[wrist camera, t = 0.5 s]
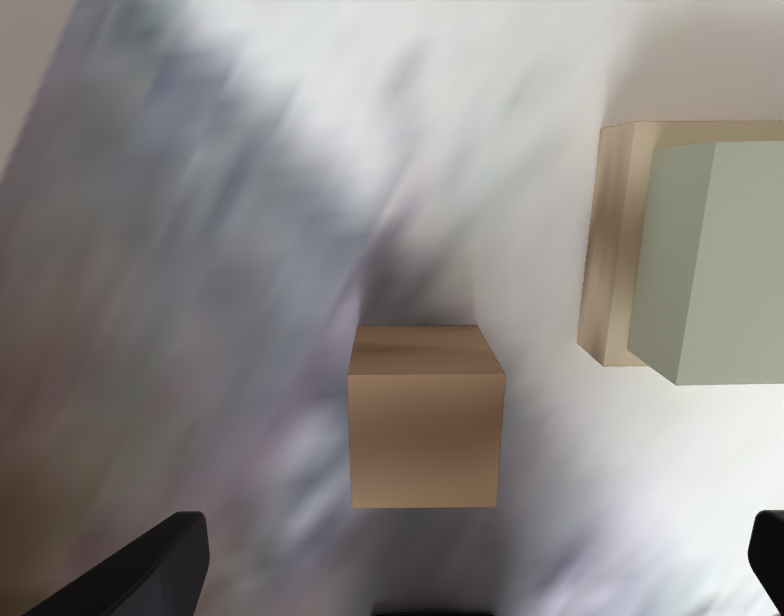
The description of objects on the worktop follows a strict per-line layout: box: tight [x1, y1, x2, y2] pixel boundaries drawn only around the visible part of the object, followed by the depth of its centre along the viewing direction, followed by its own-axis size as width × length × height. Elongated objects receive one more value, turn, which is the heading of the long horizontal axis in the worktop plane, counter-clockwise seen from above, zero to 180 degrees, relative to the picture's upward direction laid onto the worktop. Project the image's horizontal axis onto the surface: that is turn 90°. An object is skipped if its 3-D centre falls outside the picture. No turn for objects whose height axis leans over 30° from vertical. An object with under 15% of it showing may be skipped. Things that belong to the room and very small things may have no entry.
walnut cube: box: [347, 325, 505, 508], centre depth 18 cm, size 5×5×5 cm
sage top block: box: [627, 141, 784, 385], centre depth 15 cm, size 7×7×3 cm
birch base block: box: [577, 121, 784, 366], centre depth 17 cm, size 8×8×3 cm
